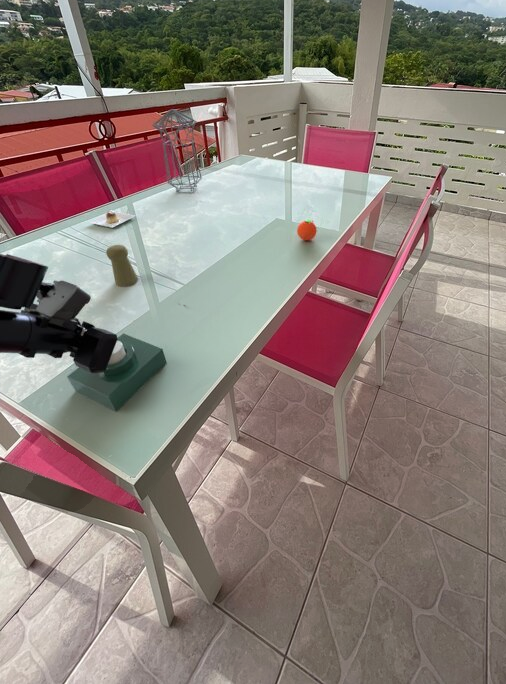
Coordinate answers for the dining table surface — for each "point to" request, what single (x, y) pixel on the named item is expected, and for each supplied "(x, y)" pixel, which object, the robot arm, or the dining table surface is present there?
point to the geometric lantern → (178, 115)
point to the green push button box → (120, 374)
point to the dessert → (112, 219)
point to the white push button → (117, 353)
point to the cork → (121, 266)
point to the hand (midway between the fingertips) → (107, 339)
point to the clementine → (306, 230)
